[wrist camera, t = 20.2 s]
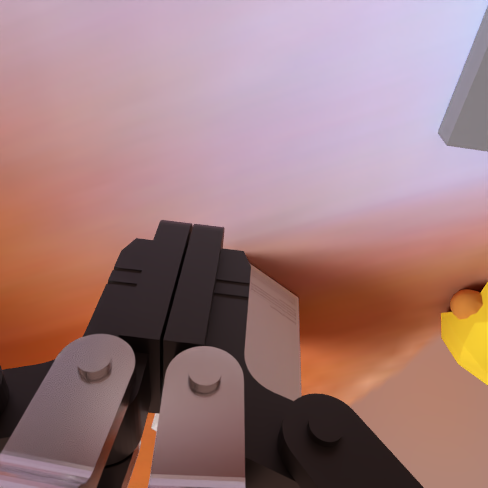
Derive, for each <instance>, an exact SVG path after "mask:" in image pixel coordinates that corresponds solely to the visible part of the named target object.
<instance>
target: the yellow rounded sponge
mask: <svg viewBox="0 0 488 488" xmlns="http://www.w3.org/2000/svg"><path fill="white" fill-rule="evenodd" d="M450 309H451V310H452V312H446V313H441V338H442V339H443V341H444V343H445V344H446V346H447V347H448V349H449V350H450V352H451V353H452V355H453V357H454V358H455V360H456V361H457V363H458V364H459V365H460V366H462V367H463V368H465V369H466V370H467V371H469V372H470V373H471V374H473V375H474V376H476V377H477V378H478V379H480V380H481V381H482V382H484V383H485V384H486V385H488V282H487V284H486V285H485V286H484V288H483V289H482V291H481V292H480V293H479V292H478V291H474V290H469V289H466V290H460V291H459V292H457V293H456V294H454V296H453V297H452V299H451V301H450Z"/></svg>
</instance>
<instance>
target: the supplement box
mask: <svg viewBox="0 0 488 488" xmlns="http://www.w3.org/2000/svg"><path fill="white" fill-rule="evenodd" d="M250 265H251V264H250ZM244 354H245V362H246V365H247V368H248V370H249V372H250V373H251V375H252V376H253V377H254V378H255V380H256V381H257V382H259V383H260V384H261V385H262V386H264V387H265V388H267V389H268V390H270V391H272V392H274V393H277V394H279V395H281V396H283V397H286V398H288V399H290V400H293V401H295V400H296V399H297V398H299V397H301V362H300V328H299V298H298V297H297V296H295V295H294V294H293V293H291V292H290V291H289V290H287V289H286V288H284V287H283V286H281V285H280V284H278V283H277V282H276V281H274V280H273V279H271V278H270V277H269V276H267V275H266V274H264V273H263V272H261V271H260V270H258V269H257V268H256V267H254V266H253V265H251V276H250V288H249V299H248V313H247V326H246V339H245V351H244ZM158 420H159V414H158V413H155V417H154V420H153V424H152V429H153V430H155V431H157V427H158Z"/></svg>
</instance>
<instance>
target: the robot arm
mask: <svg viewBox="0 0 488 488" xmlns="http://www.w3.org/2000/svg"><path fill="white" fill-rule="evenodd" d="M223 239H224V227H216V226H208V225H200V224H194V225H193V226H192V224H190V223H182V222H174V221H166V220H161V221H160V223H159V226H158V229H157V231H156V234H155V237H154V240H146V239H138V238H136V239H135V240H134V241H133V242H131V243H130V244H129V245H128V246H127V247H125V248H124V249H123V250H122V251H121V253H120V255H119V257H118V259H117V262H116V264H115V266H114V270H113V271H112V273H111V275H110V277H109V280H108V284H106V286H105V289H104V291H103V293H102V295H101V298H100V300H99V302H98V304H97V307H96V309H95V311H94V313H93V316H92V318H91V320H90V322H89V325H88V327H87V329H86V331H85V334H84V335H83V337H82V338H79V339H77V340H75V341H73V342H71V343H70V344H69V345H67V346H66V347H65V348H64V349H63V350H62V351H61V352H60V353H59V355H58V356H57V358H56V359H54V360H52V361H49V362H46V363H42V364H37V365H31V366H24V367H18V368H12V369H5V370H2V369H1V366H0V488H127V486H128V483H129V480H130V477H131V474H132V471H133V468H134V465H135V462H136V459H137V456H138V453H139V450H140V444H141V437H142V434H143V430H144V426H145V422H146V418H147V414H148V412H149V413H158V414H159V420H158V427H157V433H156V440H155V447H154V454H153V460H152V467H151V474H150V480H149V485H148V488H423V486H422V485H421V484H420V483H419V482H418V481H417V480H416V479H415V478H414V477H413V475H412V474H411V473H410V472H409V471H408V470H407V469H406V468H405V467H404V466H403V464H401V462H400V461H399V460H398V459H397V458H396V457H395V456H394V455H393V453H392V452H391V451H390V450H389V449H388V448H387V447H386V446H385V445H384V444H383V443H382V441H381V440H380V439H379V438H378V437H377V436H376V435H375V434H374V433H373V432H372V430H371V429H370V428H369V427H368V426H367V425H366V424H365V423H364V422H363V421H362V419H361V418H360V417H359V416H358V415H357V414H356V413H355V412H354V411H353V410H352V409H351V408H350V407H349V406H348V405H347V404H345V403H344V402H342V401H340V400H339V399H337V398H334V397H332V396H329V395H324V394H308V395H304V396H302V397H299V398H297V399H296V400H295V401H293V400H290V399H288V398H286V397H283V396H281V395H279V394H277V393H274V392H272V391H270V390H268V389H267V388H265V387H264V386H262V385H261V384H260V383H259V382H257V381H256V380H255V378H254V377H253V376H252V375H251V373H250V372H249V370H248V368H247V365H246V362H245V354H244V351H245V339H246V326H247V313H248V299H249V288H250V276H251V265H250V263H249V261H248V259H247V257H246V255H245V253H244V251H238V250H230V249H223Z"/></svg>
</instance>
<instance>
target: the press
mask: <svg viewBox="0 0 488 488" xmlns="http://www.w3.org/2000/svg"><path fill="white" fill-rule="evenodd" d="M438 134H439V135H440V137H441V138H442V140H443V141H444V142H445V144H446V145H447V146H454V147H461V148H468V149H474V150H481V151H488V7H487V10H486V12H485V15H484V17H483V20H482V22H481V25H480V27H479V30H478V33H477V35H476V38H475V40H474V43H473V45H472V48H471V50H470V53H469V55H468V58H467V60H466V63H465V65H464V68H463V70H462V73H461V75H460V78H459V80H458V83H457V86H456V88H455V91H454V93H453V96H452V98H451V101H450V103H449V106H448V108H447V111H446V113H445V116H444V118H443V121H442V123H441V126H440V128H439V131H438Z"/></svg>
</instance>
